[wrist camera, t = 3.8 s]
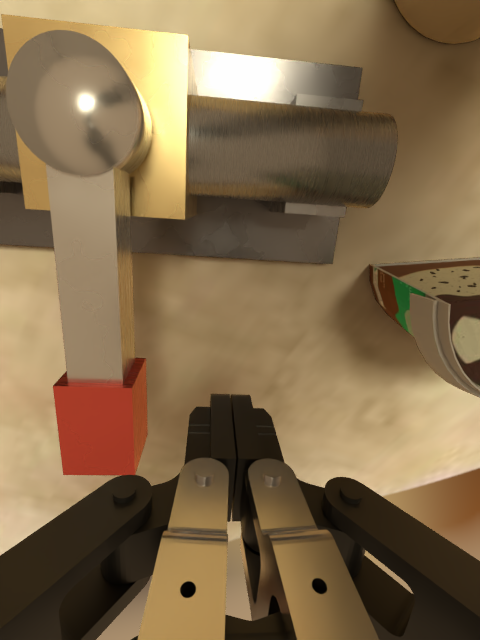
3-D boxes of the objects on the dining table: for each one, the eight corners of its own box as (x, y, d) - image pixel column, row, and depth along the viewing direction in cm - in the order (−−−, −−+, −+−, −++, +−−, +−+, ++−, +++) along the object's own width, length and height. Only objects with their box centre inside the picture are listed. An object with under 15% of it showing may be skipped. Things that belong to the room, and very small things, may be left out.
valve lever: (42, 60, 11) (-6, 20, 9) (152, 71, 12) (134, 35, 9) (78, 433, 16) (52, 474, 14) (156, 434, 16) (144, 475, 14)
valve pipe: (355, 74, 20) (458, -25, 11) (327, 261, 23) (391, 293, 15) (-83, 27, 18) (-353, -135, 9) (-43, 239, 21) (-214, 260, 13)
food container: (344, 347, 26) (419, 429, 16) (348, 265, 24) (436, 305, 14) (501, 334, 26) (664, 408, 17) (518, 254, 24) (713, 285, 15)
